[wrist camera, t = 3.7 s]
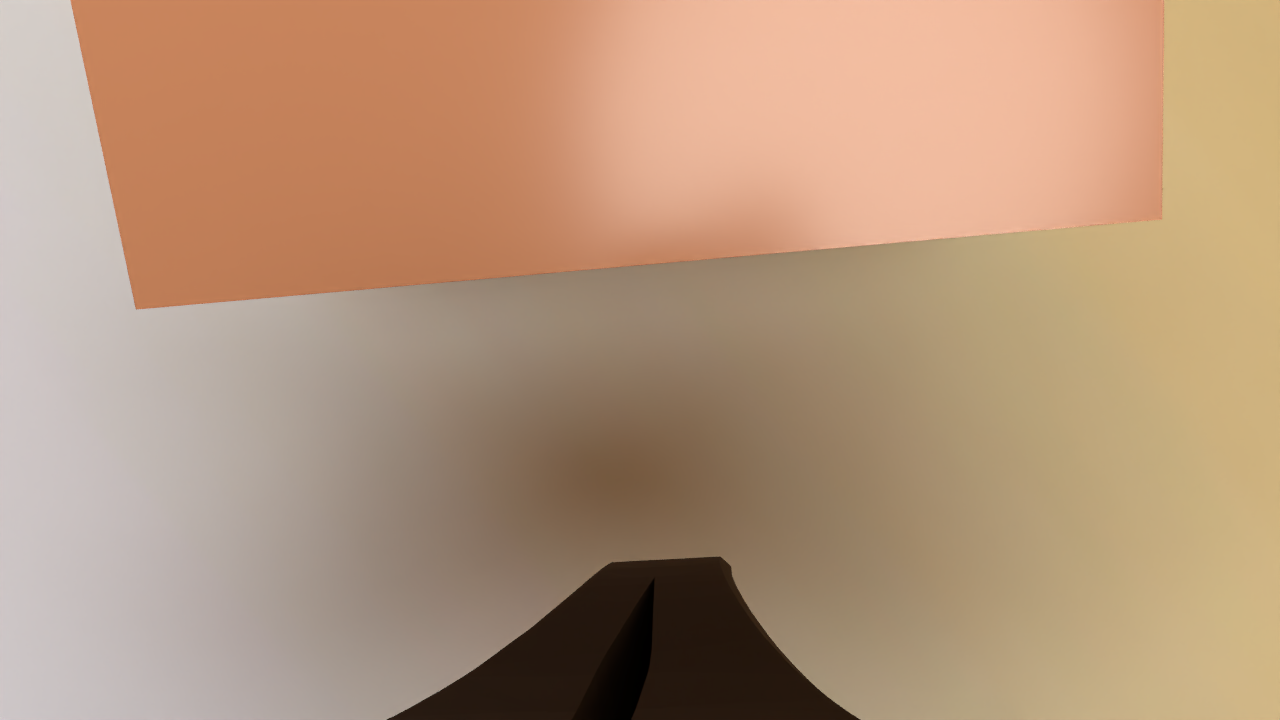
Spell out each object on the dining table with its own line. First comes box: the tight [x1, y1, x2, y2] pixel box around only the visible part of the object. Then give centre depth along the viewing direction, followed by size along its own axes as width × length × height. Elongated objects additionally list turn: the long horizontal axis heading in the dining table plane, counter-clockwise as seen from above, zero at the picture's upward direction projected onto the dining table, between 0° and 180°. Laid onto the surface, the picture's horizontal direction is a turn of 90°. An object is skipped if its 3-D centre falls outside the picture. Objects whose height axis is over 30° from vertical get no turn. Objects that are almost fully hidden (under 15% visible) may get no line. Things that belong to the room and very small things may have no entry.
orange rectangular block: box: [71, 0, 1164, 309], centre depth 12 cm, size 4×9×8 cm, turn 96°
